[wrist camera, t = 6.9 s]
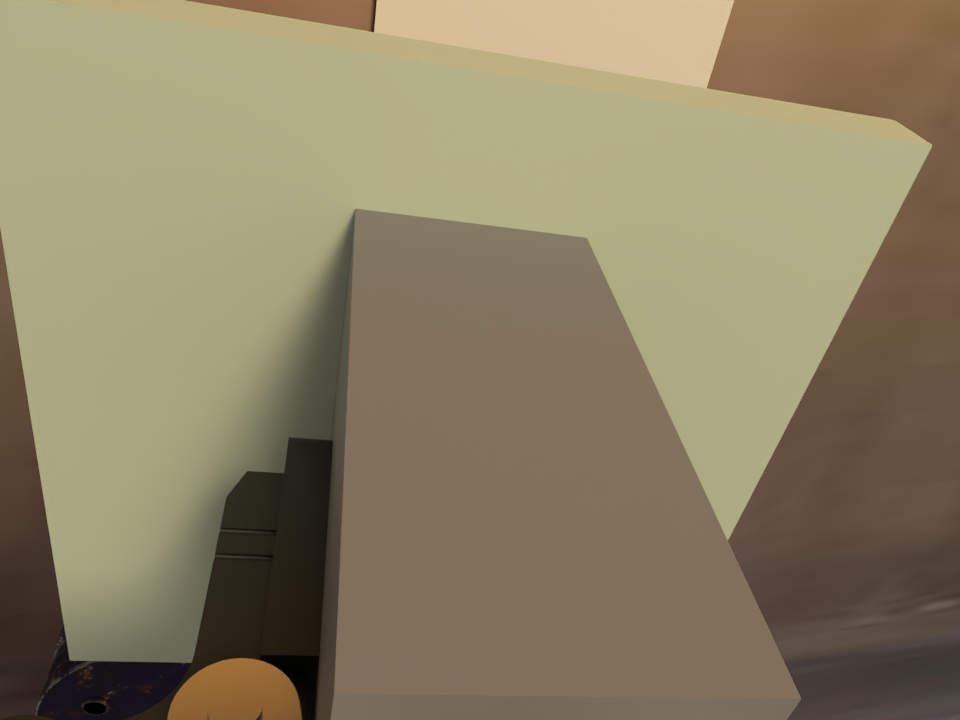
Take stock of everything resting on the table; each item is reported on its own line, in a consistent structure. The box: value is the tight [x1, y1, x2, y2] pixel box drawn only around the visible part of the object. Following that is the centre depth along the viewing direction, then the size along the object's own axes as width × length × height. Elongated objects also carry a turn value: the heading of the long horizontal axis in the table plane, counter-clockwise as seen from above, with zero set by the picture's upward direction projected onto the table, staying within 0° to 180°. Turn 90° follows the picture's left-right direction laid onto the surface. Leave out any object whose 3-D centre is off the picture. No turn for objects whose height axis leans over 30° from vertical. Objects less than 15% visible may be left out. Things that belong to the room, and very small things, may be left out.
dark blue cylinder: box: [35, 625, 191, 720], centre depth 38 cm, size 10×10×15 cm
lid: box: [0, 0, 932, 720], centre depth 11 cm, size 12×12×9 cm
